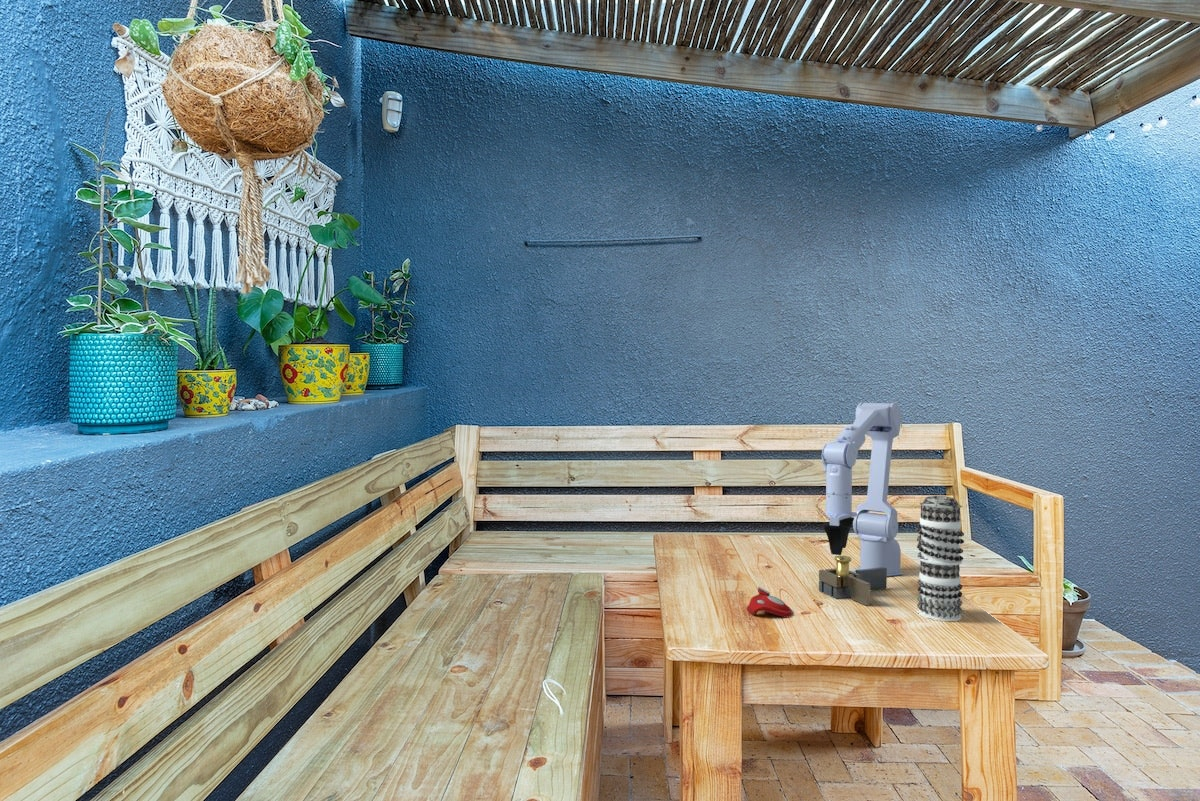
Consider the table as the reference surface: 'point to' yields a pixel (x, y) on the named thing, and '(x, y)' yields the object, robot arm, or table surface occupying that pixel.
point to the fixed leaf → (872, 576)
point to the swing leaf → (848, 584)
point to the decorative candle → (939, 559)
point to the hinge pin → (842, 565)
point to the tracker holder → (768, 604)
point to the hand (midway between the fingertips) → (838, 550)
